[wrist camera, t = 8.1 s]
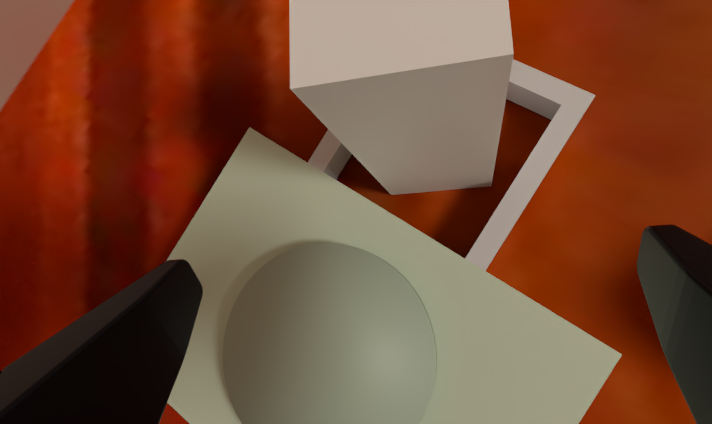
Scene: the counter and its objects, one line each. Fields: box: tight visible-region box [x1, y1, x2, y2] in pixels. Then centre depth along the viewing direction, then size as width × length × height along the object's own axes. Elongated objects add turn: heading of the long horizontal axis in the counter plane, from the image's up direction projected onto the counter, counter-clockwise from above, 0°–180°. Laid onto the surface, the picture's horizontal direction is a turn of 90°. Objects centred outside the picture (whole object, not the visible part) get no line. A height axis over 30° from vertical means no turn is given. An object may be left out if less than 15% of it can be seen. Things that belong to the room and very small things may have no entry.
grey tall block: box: [289, 0, 514, 195], centre depth 16 cm, size 4×5×13 cm
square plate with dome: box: [167, 59, 622, 424], centre depth 21 cm, size 23×20×3 cm
